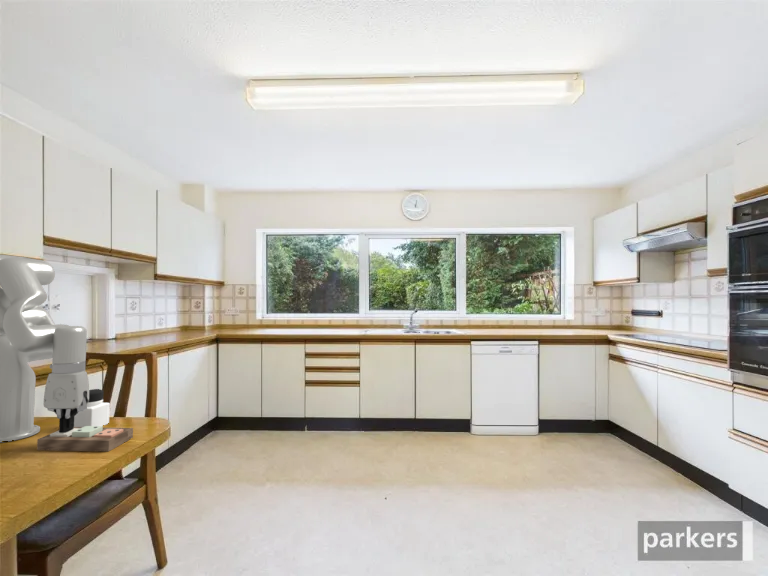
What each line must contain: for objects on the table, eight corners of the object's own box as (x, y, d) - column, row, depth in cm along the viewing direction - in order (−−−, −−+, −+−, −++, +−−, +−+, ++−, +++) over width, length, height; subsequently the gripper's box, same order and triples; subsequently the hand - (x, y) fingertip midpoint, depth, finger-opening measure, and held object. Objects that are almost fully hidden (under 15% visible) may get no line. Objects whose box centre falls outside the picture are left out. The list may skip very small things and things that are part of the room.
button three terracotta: (93, 443, 106) (93, 434, 106) (106, 436, 111) (106, 428, 111) (111, 443, 106) (111, 435, 106) (123, 437, 111) (123, 428, 111)
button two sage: (71, 440, 106) (72, 431, 106) (85, 433, 111) (86, 425, 111) (89, 440, 106) (89, 431, 106) (102, 434, 111) (102, 425, 111)
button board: (37, 450, 103) (37, 439, 103) (67, 436, 113) (67, 426, 113) (108, 451, 103) (109, 440, 103) (132, 437, 113) (133, 428, 113)
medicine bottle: (109, 423, 125) (111, 388, 126) (90, 431, 118) (92, 393, 118) (90, 422, 126) (91, 387, 126) (70, 429, 119) (72, 392, 119)
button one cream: (49, 442, 106) (49, 433, 106) (64, 436, 111) (64, 427, 111) (67, 442, 106) (67, 434, 106) (81, 436, 111) (81, 427, 111)
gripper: (31, 370, 105) (28, 435, 104) (84, 371, 105) (81, 436, 104) (54, 365, 112) (52, 426, 112) (104, 366, 113) (101, 426, 112)
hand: (66, 430), depth 108 cm, fingers closed
